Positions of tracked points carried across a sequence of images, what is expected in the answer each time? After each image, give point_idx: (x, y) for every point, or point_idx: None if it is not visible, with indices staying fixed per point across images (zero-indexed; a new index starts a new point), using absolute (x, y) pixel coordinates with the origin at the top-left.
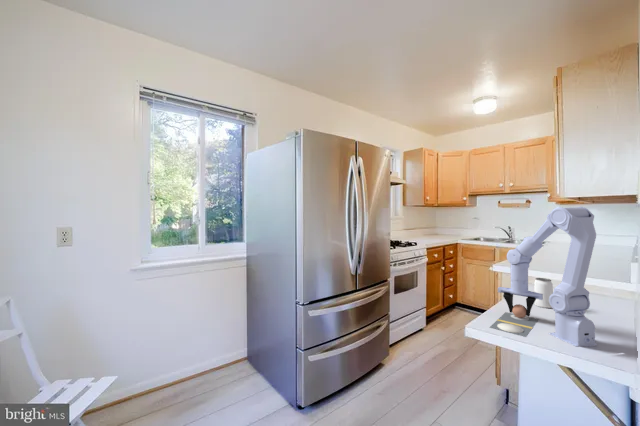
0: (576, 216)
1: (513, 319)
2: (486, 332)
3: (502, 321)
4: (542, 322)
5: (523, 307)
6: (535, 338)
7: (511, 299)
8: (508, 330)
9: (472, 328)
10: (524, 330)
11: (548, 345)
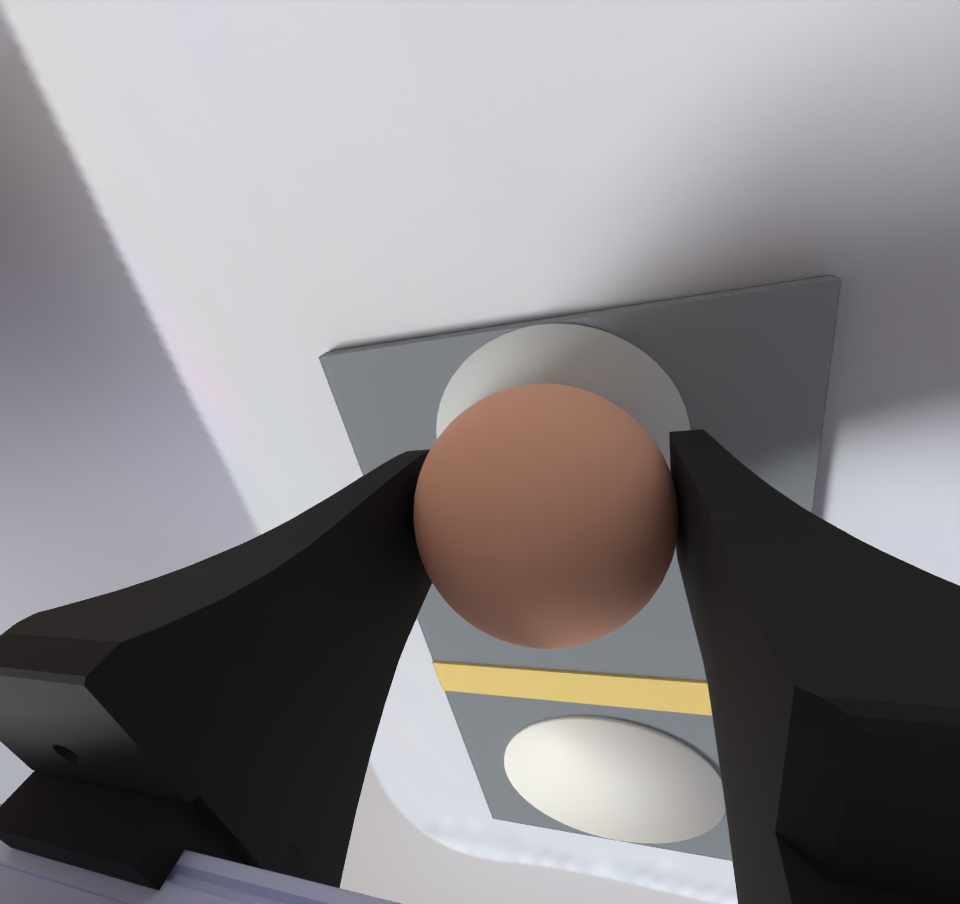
0: None
1: None
2: (517, 853)
3: (492, 693)
4: (911, 346)
5: (620, 620)
6: None
7: (325, 692)
8: (620, 830)
9: (431, 835)
10: None
11: None
